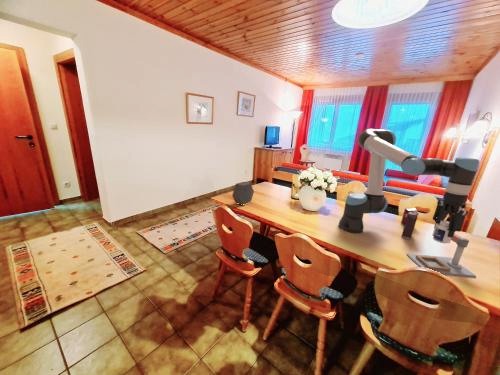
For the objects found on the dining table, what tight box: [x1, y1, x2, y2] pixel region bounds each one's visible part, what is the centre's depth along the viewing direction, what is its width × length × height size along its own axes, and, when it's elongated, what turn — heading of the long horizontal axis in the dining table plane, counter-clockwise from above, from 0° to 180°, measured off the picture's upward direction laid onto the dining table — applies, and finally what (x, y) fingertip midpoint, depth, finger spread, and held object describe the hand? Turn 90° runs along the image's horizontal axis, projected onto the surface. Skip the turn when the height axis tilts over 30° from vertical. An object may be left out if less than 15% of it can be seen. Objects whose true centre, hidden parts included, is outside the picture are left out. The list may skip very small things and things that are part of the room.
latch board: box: [406, 245, 477, 278], centre depth 101 cm, size 22×14×12 cm, turn 85°
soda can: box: [400, 207, 419, 227], centre depth 146 cm, size 7×7×12 cm
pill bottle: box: [432, 220, 449, 244], centre depth 97 cm, size 5×5×10 cm
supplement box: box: [401, 211, 419, 240], centre depth 129 cm, size 9×5×16 cm, turn 137°
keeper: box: [451, 232, 470, 248], centre depth 105 cm, size 4×17×3 cm, turn 175°
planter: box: [231, 181, 255, 206], centre depth 171 cm, size 17×8×21 cm
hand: (440, 239), depth 98 cm, fingers closed on pill bottle, 5 cm apart
